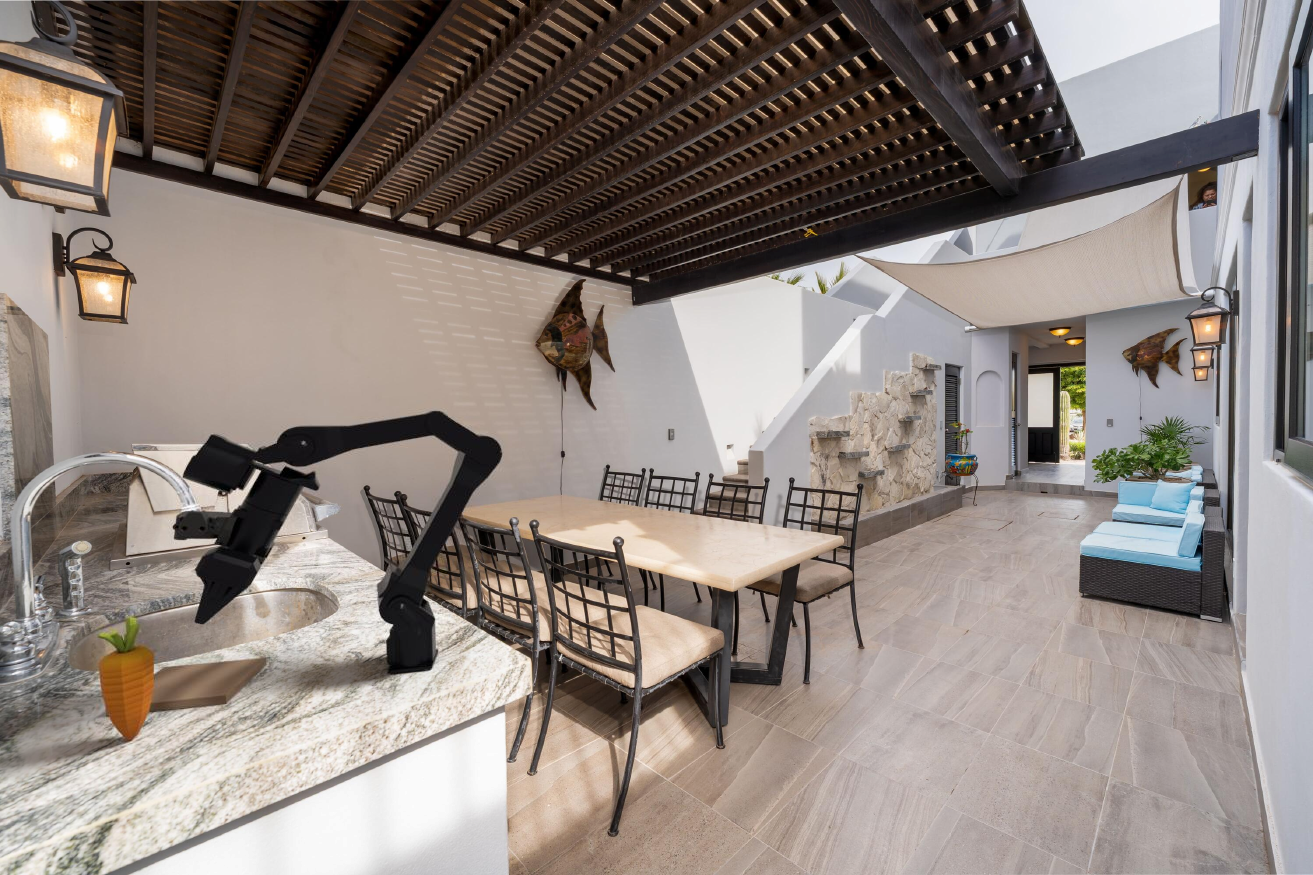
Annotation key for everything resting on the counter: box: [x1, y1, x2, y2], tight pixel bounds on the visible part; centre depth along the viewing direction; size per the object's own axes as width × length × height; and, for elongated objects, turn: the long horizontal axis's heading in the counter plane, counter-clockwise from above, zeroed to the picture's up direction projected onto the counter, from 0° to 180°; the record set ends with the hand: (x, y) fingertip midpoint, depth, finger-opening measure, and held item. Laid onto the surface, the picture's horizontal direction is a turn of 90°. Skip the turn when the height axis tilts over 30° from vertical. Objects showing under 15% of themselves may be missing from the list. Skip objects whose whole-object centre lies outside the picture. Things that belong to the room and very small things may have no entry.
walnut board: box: [105, 657, 268, 717], centre depth 81 cm, size 14×12×1 cm
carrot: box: [97, 616, 155, 741], centre depth 68 cm, size 5×5×15 cm
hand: (207, 611), depth 76 cm, fingers open, 9 cm apart
